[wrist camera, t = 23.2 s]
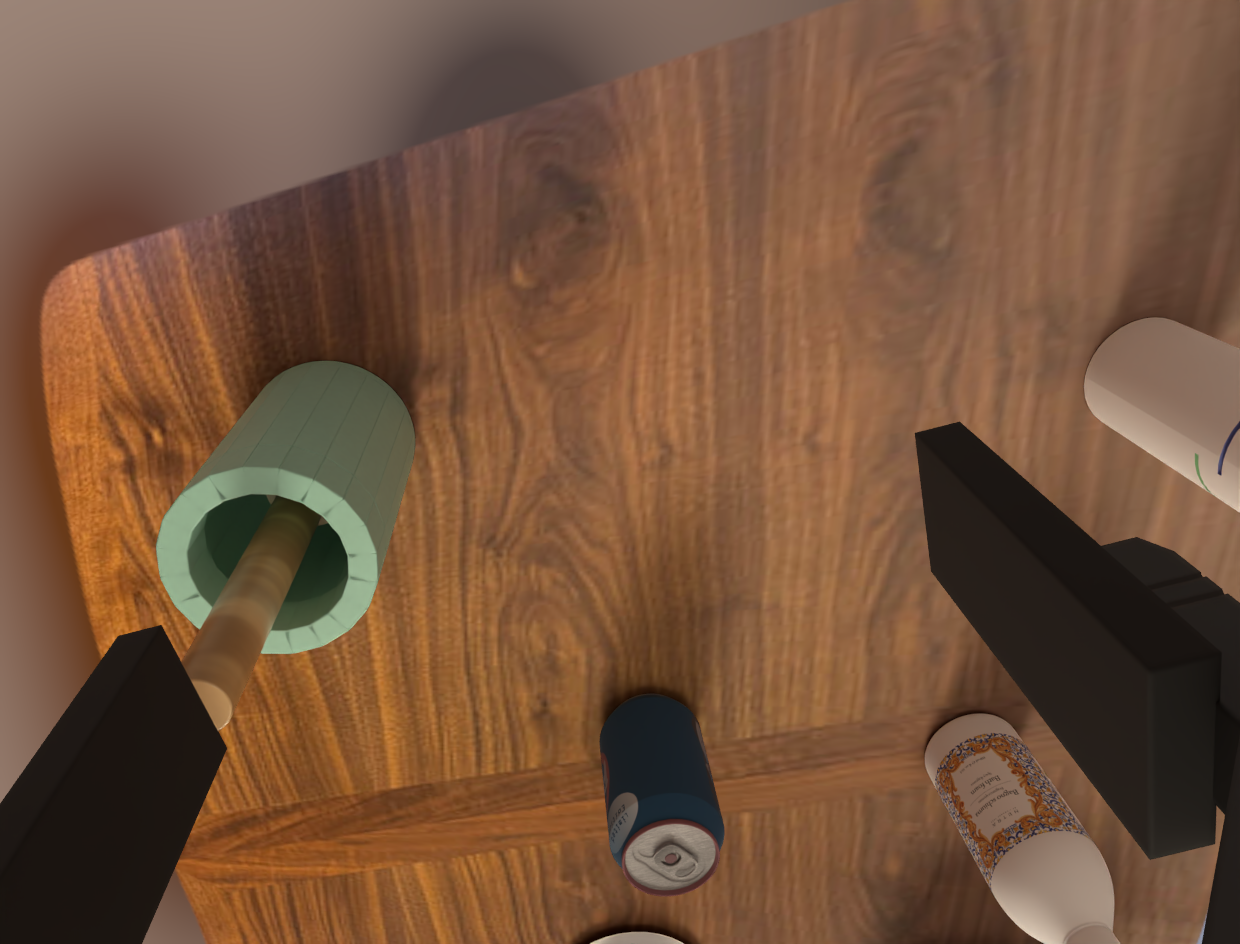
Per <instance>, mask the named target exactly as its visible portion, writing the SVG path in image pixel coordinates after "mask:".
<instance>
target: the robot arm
mask: <svg viewBox="0 0 1240 944" xmlns="http://www.w3.org/2000/svg"><path fill="white" fill-rule="evenodd" d="M915 439H916V447H917V456H918V464H919V473H920V481H921V490H922V498H923V507H924V515H925V524H926V532H927V541H928V549H929V557H930V566H931V572H932V573H933V574H934V576H935V577H936V578H937V580H938V581H939V582H940V584H941V585H942V586H943V588H944V589H945V590H946V592H947V593H948V594H949V595H950V597H951V598H952V599H953V601H954V602H955V603H956V605H957V606H958V607H959V609H960V610H961V611H962V613H963V614H964V615H965V617H966V618H967V619H968V621H969V622H970V623H971V625H972V626H973V627H974V628H975V630H976V631H977V632H978V634H979V635H980V636H981V638H982V639H983V640H984V642H985V643H986V644H987V646H988V647H989V648H990V650H991V651H992V652H993V654H994V655H995V656H996V657H997V659H998V660H999V661H1000V663H1001V664H1002V665H1003V667H1004V668H1005V669H1006V671H1007V672H1008V673H1009V675H1010V676H1011V677H1012V679H1013V680H1014V681H1015V683H1016V684H1017V685H1018V687H1019V688H1020V689H1021V690H1022V692H1023V693H1024V694H1025V696H1026V697H1027V698H1028V700H1029V701H1030V702H1031V704H1032V705H1033V706H1034V708H1035V709H1036V710H1037V712H1038V713H1039V714H1040V716H1041V717H1042V718H1043V719H1044V721H1045V722H1046V723H1047V725H1048V726H1049V727H1050V729H1051V730H1052V731H1053V733H1054V734H1055V735H1056V737H1057V738H1058V739H1059V741H1060V742H1061V743H1062V745H1063V746H1064V747H1065V749H1066V750H1067V751H1068V752H1069V754H1070V755H1071V756H1072V758H1073V759H1074V760H1075V762H1076V763H1077V764H1078V766H1079V767H1080V768H1081V770H1082V771H1083V772H1084V774H1085V775H1086V776H1087V778H1088V779H1089V780H1090V781H1091V783H1092V784H1093V785H1094V787H1095V788H1096V789H1097V791H1098V792H1099V793H1100V795H1101V796H1102V797H1103V799H1104V800H1105V801H1106V803H1107V804H1108V805H1109V807H1110V808H1111V809H1112V810H1113V812H1114V813H1115V814H1116V816H1117V817H1118V818H1119V820H1120V821H1121V822H1122V824H1123V825H1124V826H1125V828H1126V829H1127V830H1128V832H1129V833H1130V834H1131V836H1132V837H1133V838H1134V840H1135V841H1136V842H1137V843H1138V845H1139V846H1140V847H1141V849H1142V850H1143V851H1144V853H1145V854H1146V855H1147V857H1148V858H1149V859H1150V860H1151V859H1155V858H1159V857H1163V856H1168V855H1172V854H1176V853H1180V852H1184V851H1188V850H1192V849H1196V848H1200V847H1205V846H1209V845H1213V844H1215V832H1216V805H1217V806H1218V808H1219V809H1220V810H1221V811H1222V812H1223V813H1224V814H1225V819H1224V825H1223V830H1222V836H1221V841H1220V847H1219V852H1218V858H1217V863H1216V869H1215V874H1214V880H1213V885H1212V891H1211V896H1210V902H1209V907H1208V913H1207V918H1206V924H1205V929H1204V935H1203V940H1202V944H1240V603H1239V602H1238V601H1237V600H1235V599H1234V598H1233V597H1232V596H1230V595H1229V594H1224V593H1223V590H1222V589H1221V588H1220V587H1219V586H1218V585H1216V584H1215V583H1214V582H1212V581H1211V580H1210V579H1209V578H1207V577H1202V575H1201V572H1200V571H1199V570H1197V569H1196V568H1195V567H1193V566H1192V565H1191V564H1190V563H1188V562H1187V561H1186V560H1185V559H1183V558H1182V557H1181V556H1179V555H1178V554H1177V553H1176V552H1174V551H1172V550H1169V549H1167V548H1164V547H1161V546H1159V545H1156V544H1153V543H1151V542H1148V541H1146V540H1143V539H1140V538H1138V537H1135V538H1131V539H1127V540H1123V541H1119V542H1115V543H1111V544H1107V545H1103V546H1100V545H1099V544H1098V543H1097V542H1096V541H1095V540H1093V539H1092V538H1091V537H1090V536H1089V535H1088V534H1087V533H1086V532H1084V531H1083V530H1082V529H1081V528H1080V527H1079V526H1078V525H1076V524H1075V523H1074V522H1073V521H1072V520H1071V519H1070V518H1068V517H1067V516H1066V515H1065V514H1064V513H1063V512H1062V511H1061V510H1059V509H1058V508H1057V507H1056V506H1055V505H1054V504H1053V503H1051V502H1050V501H1049V500H1048V499H1047V498H1046V497H1045V496H1043V495H1042V494H1041V493H1040V492H1039V491H1038V490H1037V489H1036V488H1034V487H1033V486H1032V485H1031V484H1030V483H1029V482H1028V481H1026V480H1025V479H1024V478H1023V477H1022V476H1021V475H1020V474H1018V473H1017V472H1016V471H1015V470H1014V469H1013V468H1012V467H1011V466H1009V465H1008V464H1007V463H1006V462H1005V461H1004V460H1003V459H1001V458H1000V457H999V456H998V455H997V454H996V453H995V452H993V451H992V450H991V449H990V448H989V447H988V446H987V445H986V444H984V443H983V442H982V441H981V440H980V439H979V438H978V437H976V436H975V435H974V434H973V433H972V432H971V431H970V430H968V429H967V428H966V427H965V426H964V425H963V424H962V423H961V422H957V423H953V424H949V425H945V426H941V427H937V428H933V429H929V430H925V431H921V432H917V433H915ZM226 750H227V747H226V745H225V743H224V741H223V740H222V738H221V736H220V734H219V732H218V730H217V728H216V726H215V725H214V723H213V721H212V719H211V717H210V715H209V713H208V711H207V710H206V708H205V706H204V704H203V702H202V700H201V698H200V696H199V695H198V693H197V691H196V689H195V687H194V685H193V683H192V681H191V680H190V678H189V676H188V674H187V672H186V670H185V668H184V667H183V665H182V663H181V661H180V659H179V657H178V655H177V653H176V652H175V650H174V648H173V646H172V644H171V642H170V640H169V638H168V637H167V635H166V633H165V631H164V629H163V627H162V625H160V626H156V627H152V628H148V629H144V630H140V631H136V632H132V633H128V634H124V635H120V636H118V637H117V638H116V640H115V641H114V643H113V644H112V646H111V647H110V648H109V650H108V651H107V653H106V654H105V656H104V657H103V658H102V660H101V661H100V663H99V664H98V666H97V667H96V668H95V670H94V671H93V673H92V674H91V675H90V677H89V678H88V680H87V681H86V683H85V684H84V686H83V687H82V688H81V690H80V691H79V693H78V694H77V695H76V697H75V698H74V700H73V701H72V702H71V704H70V706H69V707H68V708H67V710H66V711H65V713H64V714H63V715H62V717H61V718H60V720H59V721H58V722H57V724H56V726H55V727H54V728H53V729H52V731H51V732H50V734H49V735H48V737H47V738H46V739H45V741H44V742H43V744H42V745H41V747H40V748H39V749H38V751H37V752H36V754H35V755H34V757H33V758H32V759H31V761H30V762H29V764H28V765H27V766H26V768H25V769H24V771H23V772H22V774H21V775H20V776H19V778H18V779H17V781H16V782H15V784H14V785H13V786H12V788H11V789H10V791H9V792H8V793H7V795H6V796H5V798H4V799H3V801H2V802H1V803H0V944H142V942H143V940H144V938H145V935H146V933H147V931H148V929H149V926H150V924H151V922H152V919H153V917H154V915H155V913H156V910H157V908H158V906H159V903H160V901H161V899H162V896H163V894H164V892H165V890H166V887H167V885H168V883H169V880H170V878H171V876H172V873H173V871H174V869H175V867H176V864H177V862H178V860H179V857H180V855H181V853H182V851H183V848H184V846H185V844H186V841H187V839H188V837H189V835H190V832H191V830H192V828H193V825H194V823H195V821H196V818H197V816H198V814H199V812H200V809H201V807H202V805H203V802H204V800H205V798H206V796H207V793H208V791H209V789H210V786H211V784H212V782H213V779H214V777H215V775H216V773H217V770H218V768H219V766H220V763H221V761H222V759H223V757H224V754H225V752H226Z"/></svg>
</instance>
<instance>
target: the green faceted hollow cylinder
mask: <svg viewBox="0 0 1240 944" xmlns="http://www.w3.org/2000/svg"><path fill="white" fill-rule="evenodd" d="M414 451H415V433H414V427H413V423H412V420H411V417H410V415H409V412H408V410H407V408H406V406H405V405H404V403H403V401H402V400H401V399H400V397H399V396H398V395H397V393H396V392H395V391H394V390H393V389H392V388H391V387H390V386H389V385H388V384H387V383H385V382H384V381H383V380H382V379H380V378H379V377H377V376H376V375H374V374H372V373H371V372H369V371H367V370H365V369H362V368H360V367H358V366H354V365H351V364H348V363H343V362H337V361H313V362H308V363H303V364H300V365H297V366H294V367H292V368H290V369H288V370H286V371H284V372H282V373H281V374H279V375H278V376H276V377H275V378H274V379H273V380H272V381H270V382H269V383H268V384H267V385H266V386H265V387H264V388H263V390H262V391H261V392H260V393H259V395H258V396H257V397H256V398H255V400H254V401H253V402H252V404H251V405H250V406H249V407H248V409H247V410H246V411H245V412H244V414H243V415H242V416H241V418H240V419H239V420H238V421H237V423H236V424H235V425H234V426H233V428H232V429H231V430H230V431H229V433H228V434H227V435H226V437H225V438H224V439H223V440H222V442H221V443H220V444H219V445H218V447H217V448H216V449H215V451H214V452H213V453H212V454H211V456H210V457H209V458H208V459H207V461H206V462H205V463H204V464H203V466H202V467H201V468H200V470H199V471H198V472H197V473H196V475H195V476H194V477H193V478H192V480H191V481H190V482H189V484H188V485H187V486H186V487H185V489H184V490H183V491H182V492H181V494H180V495H179V496H178V498H177V499H176V500H175V502H174V503H173V504H172V506H171V507H170V509H169V510H168V511H167V513H166V514H165V515H164V518H163V519H162V523H161V527H160V531H159V535H158V539H157V543H156V552H157V559H158V567H159V574H160V578H161V580H162V582H163V584H164V586H165V588H166V590H167V592H168V594H169V596H170V598H171V600H172V601H173V603H174V604H175V606H176V607H177V608H178V609H179V610H180V611H181V612H182V613H183V614H184V615H185V616H186V617H187V618H188V619H189V620H190V621H191V622H192V623H193V624H194V625H195V626H196V627H198V629H200V628H201V627H202V625H203V623H204V621H205V620H206V618H207V616H208V614H209V613H210V611H211V609H212V607H213V606H214V604H215V602H216V600H217V599H218V597H219V595H220V593H221V592H222V590H223V588H224V586H225V585H226V583H227V581H228V579H229V578H230V576H231V574H232V572H233V571H234V569H235V567H236V565H237V564H238V562H239V560H240V558H241V557H242V555H243V553H244V551H245V550H246V548H247V546H248V544H249V543H250V541H251V539H252V537H253V536H254V534H255V532H256V530H257V529H258V527H259V525H260V523H261V522H262V520H263V518H264V516H265V515H266V513H267V511H268V509H269V508H270V506H271V504H270V502H269V500H268V498H267V496H266V495H278V496H281V497H284V498H287V499H291V500H294V501H297V502H300V503H302V504H304V505H306V506H307V507H309V508H310V509H312V510H313V511H315V512H316V513H318V514H320V515H321V516H323V517H324V519H325V520H326V521H327V522H328V523H327V524H324V525H319V526H317V528H316V530H315V533H314V535H313V537H312V539H311V542H310V544H309V546H308V548H307V550H306V553H305V555H304V557H303V559H302V562H301V564H300V566H299V568H298V570H297V573H296V575H295V577H294V579H293V582H292V584H291V586H290V588H289V590H288V593H287V595H286V597H285V599H284V602H283V604H282V606H281V608H280V611H279V613H278V615H277V617H276V619H275V622H274V624H273V626H272V628H271V631H270V633H269V635H268V637H267V639H266V642H265V644H264V646H263V648H262V651H261V653H265V654H292V653H298V652H302V651H306V650H310V649H314V648H318V647H322V646H323V645H326V644H327V643H329V642H331V641H332V640H334V639H336V638H337V637H339V636H341V635H342V634H344V633H346V632H347V631H349V630H350V629H351V628H352V627H353V626H354V625H355V624H356V622H357V621H358V620H359V619H360V618H361V616H362V615H363V614H364V613H365V612H366V611H367V609H368V608H369V606H370V603H371V600H372V597H373V595H374V592H375V589H376V586H377V583H378V580H379V577H380V573H381V570H382V566H383V563H384V559H385V556H386V552H387V549H388V546H389V542H390V539H391V535H392V532H393V528H394V525H395V521H396V518H397V514H398V511H399V508H400V504H401V501H402V497H403V494H404V490H405V487H406V483H407V480H408V476H409V473H410V470H411V466H412V463H413V458H414Z"/></svg>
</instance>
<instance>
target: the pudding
mask: <svg viewBox="0 0 1240 944" xmlns="http://www.w3.org/2000/svg"><path fill="white" fill-rule="evenodd" d="M590 944H684V943H682V942H680V941H678V940H676V939H674V938H672V937H668V936H665V935H661V934H657V933H650V932H628V933H619V934H615V935H611V936H607V937H604V938H602V939H599V940H596V941H594V942H592V943H590Z"/></svg>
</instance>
